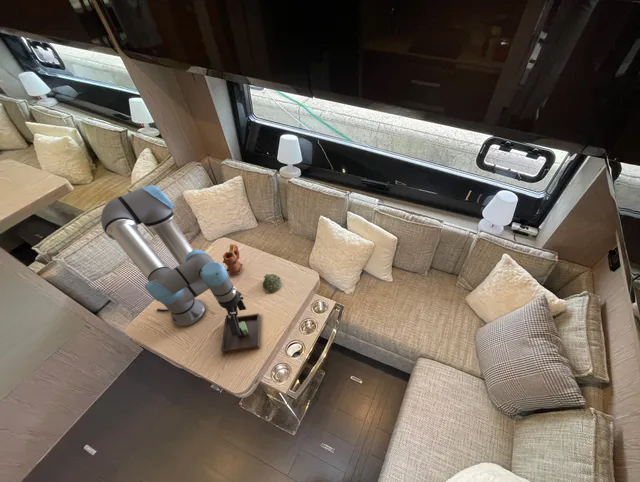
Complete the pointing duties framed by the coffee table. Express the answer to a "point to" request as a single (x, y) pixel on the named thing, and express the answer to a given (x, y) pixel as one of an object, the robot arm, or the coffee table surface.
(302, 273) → the coffee table surface
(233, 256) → the brown animal figurine
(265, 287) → the green bumpy lump
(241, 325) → the block
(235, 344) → the tray
